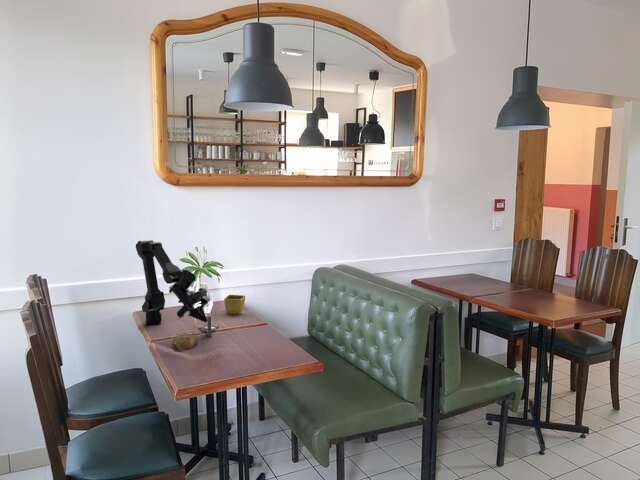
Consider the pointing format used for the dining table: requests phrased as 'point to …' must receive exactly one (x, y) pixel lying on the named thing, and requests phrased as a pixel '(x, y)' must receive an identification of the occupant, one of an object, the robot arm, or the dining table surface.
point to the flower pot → (234, 303)
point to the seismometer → (208, 326)
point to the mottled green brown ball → (184, 342)
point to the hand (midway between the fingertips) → (206, 321)
